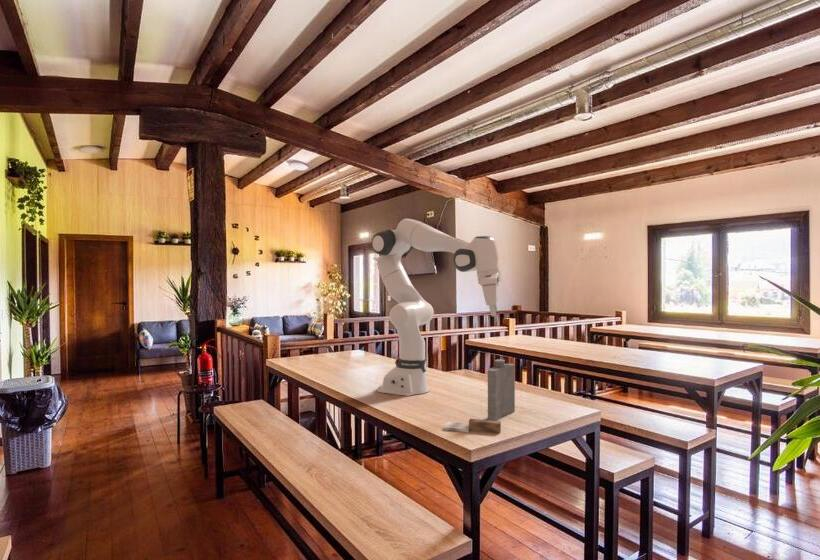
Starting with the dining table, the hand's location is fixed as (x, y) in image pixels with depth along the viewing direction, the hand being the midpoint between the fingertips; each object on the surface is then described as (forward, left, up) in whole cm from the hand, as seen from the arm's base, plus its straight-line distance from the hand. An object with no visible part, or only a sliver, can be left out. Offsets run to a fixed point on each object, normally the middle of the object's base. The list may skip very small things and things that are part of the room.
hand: (494, 314), depth 175 cm
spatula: (-5, -27, -36) cm, 45 cm away
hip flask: (+3, -9, -36) cm, 37 cm away
